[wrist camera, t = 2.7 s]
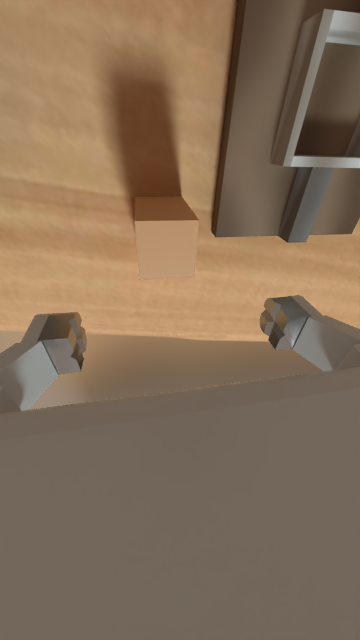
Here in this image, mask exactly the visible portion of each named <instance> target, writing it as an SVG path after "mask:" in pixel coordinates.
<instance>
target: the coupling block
mask: <svg viewBox="0 0 360 640" xmlns="http://www.w3.org/2000/svg"><path fill="white" fill-rule="evenodd" d="M134 223H135V233H136V244H137V255H138V266H139V277H140V280H150V279H171V278H193V277H195V267H196V255H197V242H198V230H199V219H198V218H197V217H196V215H195V214H194V213H193V211H192V210H191V208H190V207H189V206H188V204H187V203H186V202H185V200H184V199H183V198H182V197H135V212H134Z"/></svg>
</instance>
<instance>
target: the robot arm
mask: <svg viewBox="0 0 360 640" xmlns="http://www.w3.org/2000/svg"><path fill="white" fill-rule="evenodd" d="M264 307H265V309H266V310H265V311H264V312H263V313H261V316H260V327H261V329H262V331H263V333H265V334H266V335H268V336H269V339H268V340H269V342H270V343H271V344H272V346H273V347H274V349H275V350H282V349H293V350H294V351H296V352H297V353H299V354H300V355H301V356H303V357H304V358H306V359H307V360H309V361H310V362H312V363H313V364H314V365H316V366H317V367H319V368H320V369H322V370H323V371H325V372H317V373H310V374H303V375H295V376H286V377H279V378H271V379H263V380H255V381H248V382H240V383H232V384H224V385H217V386H209V387H201V388H194V389H186V390H178V391H171V392H164V393H155V394H148V395H140V396H132V397H125V398H117V399H109V400H101V401H94V402H86V403H78V404H71V405H63V406H55V407H47V408H40V409H32V410H28V409H29V408H30V407H31V406H32V404H33V403H34V402H35V401H36V400H37V399H38V398H39V397H40V396H41V394H42V393H43V392H44V391H45V390H46V389H47V388H48V387H49V385H50V384H51V383H52V382H53V381H54V380H55V379H56V378H57V377H58V375H59V374H66V373H73V372H81V369H82V365H83V360H84V358H83V355H82V353H83V352H84V351H85V350H86V344H87V339H86V333H85V329H84V328H83V327H81V326H80V325H81V321H82V320H81V317H80V314H79V313H78V312H70V313H52V314H38V315H36V316H35V317H34V319H33V320H32V322H31V324H30V326H29V328H28V330H27V332H26V333H25V336H24V337H23V339H22V341H21V343H16V344H14V345H13V346H11V347H10V348H8V349H6V350H5V351H3V352H2V353H0V640H360V329H358V328H355V327H353V326H350V325H348V324H345V323H343V322H341V321H338V320H336V319H333V318H331V317H328V316H323V315H321V314H320V313H319V312H318V311H317V310H316V309H315V308H314V307H313V306H312V305H311V304H310V303H309V302H308V301H306V300H305V299H304V298H303V297H302V296H299V295H296V296H288V297H278V298H267V300H266V301H265V304H264Z"/></svg>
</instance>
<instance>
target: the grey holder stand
mask: <svg viewBox="0 0 360 640" xmlns="http://www.w3.org/2000/svg"><path fill="white" fill-rule="evenodd" d="M359 218H360V0H238V8H237V17H236V25H235V34H234V42H233V51H232V60H231V68H230V77H229V85H228V94H227V103H226V111H225V120H224V129H223V137H222V146H221V154H220V163H219V172H218V180H217V189H216V197H215V206H214V215H213V223H212V233H213V234H214V236H215V237H242V236H279V237H280V238H282V239H283V240H285V241H286V242H287V243H293V242H306V241H307V239H308V236H309V235H329V234H352V232H353V230H354V228H355V226H356V224H357V222H358V220H359Z"/></svg>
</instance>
